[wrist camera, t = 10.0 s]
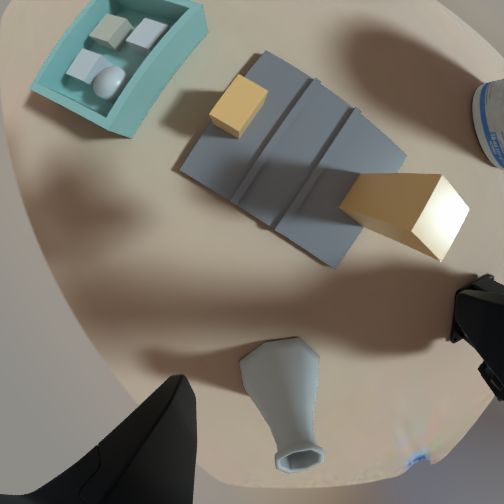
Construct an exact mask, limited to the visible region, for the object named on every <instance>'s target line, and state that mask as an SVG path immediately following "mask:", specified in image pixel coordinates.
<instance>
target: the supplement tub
mask: <svg viewBox="0 0 504 504" xmlns="http://www.w3.org/2000/svg"><path fill="white" fill-rule="evenodd" d="M472 112H473V121H474V126H475V130H476V133H477V137H478V139H479V142H480V145H481V147H482V149H483V151H484V153H485V154H486V156H487V157H488V159H489V160H490V161H491V163H492V164H493V165H495V166H496V167H497V168H499V169H501V170H504V79H502V80H497V81H493V82H489V83H485V84H482V85H480V86H479V87H478V88H477V89H476V91H475V93H474V97H473V103H472Z"/></svg>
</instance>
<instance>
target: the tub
mask: <svg viewBox="0 0 504 504" xmlns="http://www.w3.org/2000/svg"><path fill="white" fill-rule="evenodd" d="M207 33H208V28H207V23H206V18H205V13H204V8H203V5H201V4H199V3H196V2H193V1H189V0H91V1H90V2H89V3H88V5H87V6H86V7H85V8H84V9H83V10H82V12H81V13H80V14H79V15H78V16H77V18H76V19H75V20H74V21H73V23H72V24H71V25H70V26H69V28H68V29H67V30H66V32H65V33H64V34H63V36H62V37H61V39H60V40H59V41H58V43H57V44H56V46H55V47H54V49H53V50H52V52H51V53H50V55H49V56H48V58H47V59H46V61H45V62H44V64H43V66H42V67H41V69H40V71H39V72H38V74H37V76H36V78H35V79H34V81H33V83H32V85H31V87H30V88H29V89H31V90H33V91H35V92H37V93H39V94H40V95H42V96H44V97H46V98H48V99H50V100H52V101H54V102H56V103H58V104H60V105H62V106H64V107H66V108H67V109H69V110H71V111H73V112H75V113H77V114H79V115H81V116H82V117H84V118H86V119H88V120H90V121H92V122H94V123H95V124H97V125H99V126H101V127H103V128H105V129H106V130H108V131H111V132H114V133H117V134H120V135H123V136H126V137H129V138H131V139H132V137H133V135H134V134H135V132H136V130H137V129H138V127H139V125H140V124H141V122H142V120H143V119H144V117H145V116H146V114H147V113H148V111H149V110H150V108H151V106H152V105H153V103H154V102H155V100H156V99H157V98H158V96H159V95H160V93H161V92H162V90H163V89H164V87H165V86H166V85H167V83H168V82H169V80H170V79H171V78H172V76H173V75H174V74H175V72H176V71H177V70H178V68H179V67H180V66H181V65H182V63H183V62H184V61H185V59H186V58H187V57H188V56H189V55H190V53H191V52H192V51H193V50H194V48H195V47H196V46H197V45H198V44H199V43H200V41H201V40H202V39H203V38H204V37H205V36H206V35H207Z"/></svg>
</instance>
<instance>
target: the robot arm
mask: <svg viewBox="0 0 504 504" xmlns="http://www.w3.org/2000/svg"><path fill="white" fill-rule="evenodd" d="M461 339H464V340H465V341H467V342H468V343H469V344H470V345H471V346H472V347H474V348H475V349H476V351H477V352H478V353H479V355H480V356H481V357H482V358H483V360H484V361H483V363H482V364H480V366H479V368H478V370H479V372H480V373H481V376H482V377H483V379H484V380H485V381H486V383H487V384H488V386H489V387H490V388H491V390H492V391H493V393H494V394H495V396H496V397H497V399H498V400H499V401H504V285H502V284H500V283H498V282H496V281H494V276H493V275H488V276H486V277H484V278H482V279H480V280H478V281H476V282H474V283H472V284H470V285H468V286H466V287H464V288H462V289H460V290H458V291H457V293H456V298H455V309H454V317H453V325H452V332H451V338H450V341H451V342H452V343H456V342H458V341H459V340H461ZM196 452H197V419H196V397H195V394H194V392H193V390H192V388H191V386H190V384H189V382H188V380H187V378H186V376H185V375H183V374H179V375H172V376H170V377H169V378H168V379H167V380H166V381H165V382H164V383H163V384H162V385H161V386H160V387H159V388H158V389H156V390H155V391H154V392H153V393H152V394H151V395H150V396H149V397H148V398H147V399H146V400H145V401H144V402H143V403H142V404H141V405H140V406H139V407H138V408H137V409H135V410H134V411H133V412H132V413H131V414H130V415H129V416H128V417H127V418H126V419H125V420H124V421H123V422H121V423H120V424H119V425H118V426H117V427H116V428H115V429H114V430H113V431H112V432H111V433H109V435H107V436H106V437H105V438H104V439H103V440H102V441H101V442H99V444H98V445H96V446H95V447H94V448H93V449H92V450H91V451H89V452H88V453H87V454H86V455H85V456H84V457H82V458H81V459H80V460H79V461H78V462H76V463H75V464H74V465H72V466H71V467H70V468H68V469H67V470H65V471H64V472H63V473H61V474H60V475H59V476H57V477H55V478H54V479H53V480H51V481H50V482H48V483H47V484H45V485H44V486H42V487H41V488H39V489H37V490H36V491H34V492H31V493H29V494H24V495H5V494H0V504H193V490H194V475H195V464H196Z"/></svg>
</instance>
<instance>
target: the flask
mask: <svg viewBox="0 0 504 504" xmlns="http://www.w3.org/2000/svg"><path fill="white" fill-rule="evenodd" d="M239 365H240V371H241V377H242V383H243V387H244V388H245V390H246V392H247V393H248V395H249V396H250V398H251V399H252V400H253V402H254V403H255V405H256V406H257V408H258V409H259V411H260V413H261V414H262V416H263V417H264V419H265V421H266V422H267V424H268V425H269V427H270V429H271V431H272V434H273V437H274V439H275V442H276V444H277V449H278V452H277V453H275V466H276V469H278V470H281V471H283V472H286V473H294V472H300V471H306V470H309V469H311V468H313V467H315V466H317V465H319V464H321V463H323V460H324V454H325V452H324V450H323V448H322V447H320V446H318V444H317V441H316V438H315V434H314V423H313V414H314V407H315V400H316V394H317V388H318V381H319V355H318V354H317V353H316V352H315V351H313V350H312V349H311V348H310V347H309V346H308V345H307V344H306V343H305V342H304V341H303V340H302V339H301V338H300V337H299V338H293V339H285V340H278V341H270V342H264V343H263V344H262V345H260V346H259V347H258V348H256V349H255V350H254V351H252V352H251V353H250V354H249V355H247V356H246V357H245V358H243V359H242V360H240V361H239Z"/></svg>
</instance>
